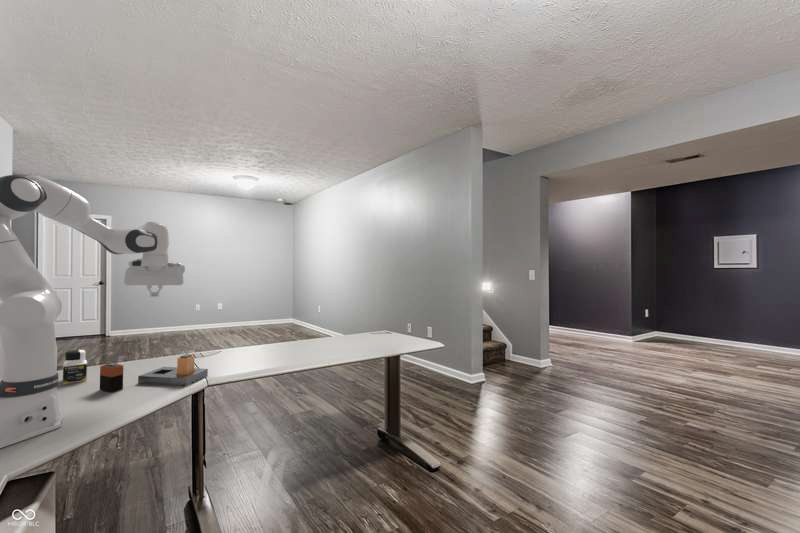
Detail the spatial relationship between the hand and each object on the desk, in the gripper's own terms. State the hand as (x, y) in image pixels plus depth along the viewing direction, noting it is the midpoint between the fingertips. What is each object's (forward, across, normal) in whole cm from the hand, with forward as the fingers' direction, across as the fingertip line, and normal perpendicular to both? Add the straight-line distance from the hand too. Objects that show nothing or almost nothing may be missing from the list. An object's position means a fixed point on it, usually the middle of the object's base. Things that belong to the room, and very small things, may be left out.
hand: (154, 296), depth 152 cm
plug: (+34, -12, +5) cm, 36 cm away
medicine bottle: (+34, +27, -11) cm, 45 cm away
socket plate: (+34, -8, +3) cm, 35 cm away
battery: (+34, +12, +8) cm, 37 cm away
